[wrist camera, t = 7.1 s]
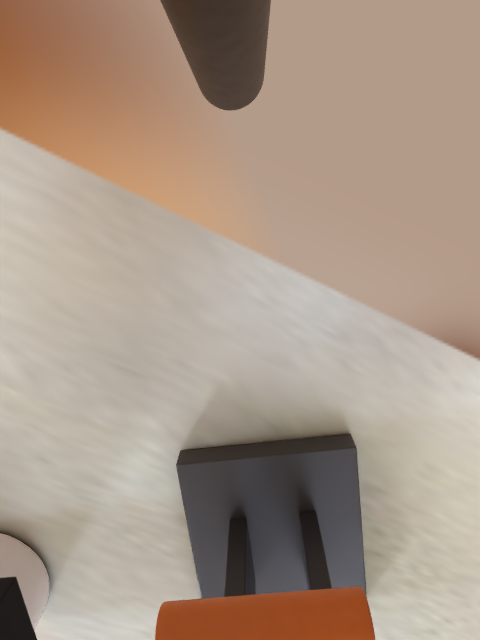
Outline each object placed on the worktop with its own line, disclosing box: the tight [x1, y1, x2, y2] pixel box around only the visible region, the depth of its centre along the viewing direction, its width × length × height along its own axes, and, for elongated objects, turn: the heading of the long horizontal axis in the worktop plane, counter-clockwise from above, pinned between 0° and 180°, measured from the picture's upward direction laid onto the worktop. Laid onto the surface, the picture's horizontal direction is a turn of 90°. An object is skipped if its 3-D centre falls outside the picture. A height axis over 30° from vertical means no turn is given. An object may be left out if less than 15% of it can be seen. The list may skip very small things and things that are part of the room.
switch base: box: [176, 434, 367, 599], centre depth 20 cm, size 12×10×13 cm
